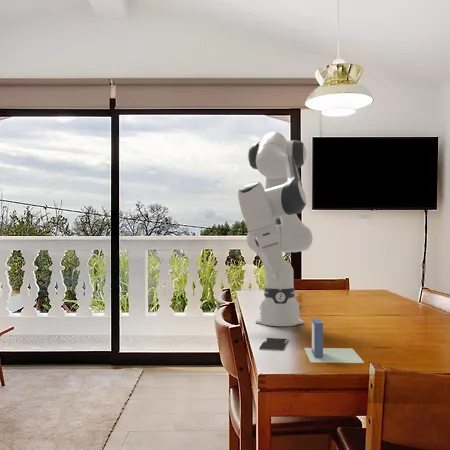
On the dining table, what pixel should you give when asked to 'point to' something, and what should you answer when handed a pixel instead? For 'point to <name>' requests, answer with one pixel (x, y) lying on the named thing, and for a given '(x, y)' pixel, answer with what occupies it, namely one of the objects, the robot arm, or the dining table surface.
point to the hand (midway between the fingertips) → (278, 279)
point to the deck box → (317, 338)
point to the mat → (335, 355)
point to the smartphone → (274, 344)
